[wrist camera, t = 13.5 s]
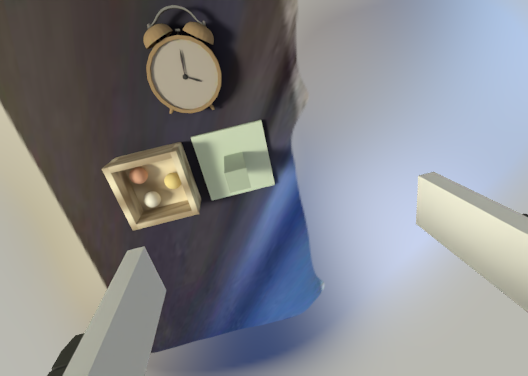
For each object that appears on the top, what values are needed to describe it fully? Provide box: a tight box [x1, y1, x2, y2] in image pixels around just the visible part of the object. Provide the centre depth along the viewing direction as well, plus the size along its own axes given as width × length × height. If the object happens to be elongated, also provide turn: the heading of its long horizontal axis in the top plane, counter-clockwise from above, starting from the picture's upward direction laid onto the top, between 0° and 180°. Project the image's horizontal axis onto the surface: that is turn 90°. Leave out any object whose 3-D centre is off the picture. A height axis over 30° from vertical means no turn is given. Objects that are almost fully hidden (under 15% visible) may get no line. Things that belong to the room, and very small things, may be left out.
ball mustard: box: [164, 173, 181, 189], centre depth 48 cm, size 3×3×3 cm
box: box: [102, 142, 201, 230], centre depth 48 cm, size 12×12×6 cm
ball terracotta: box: [129, 167, 148, 184], centre depth 47 cm, size 3×3×3 cm
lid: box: [191, 120, 275, 200], centre depth 47 cm, size 13×13×10 cm
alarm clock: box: [144, 5, 221, 114], centre depth 42 cm, size 11×5×15 cm
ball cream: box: [143, 191, 161, 207], centre depth 49 cm, size 3×3×3 cm
